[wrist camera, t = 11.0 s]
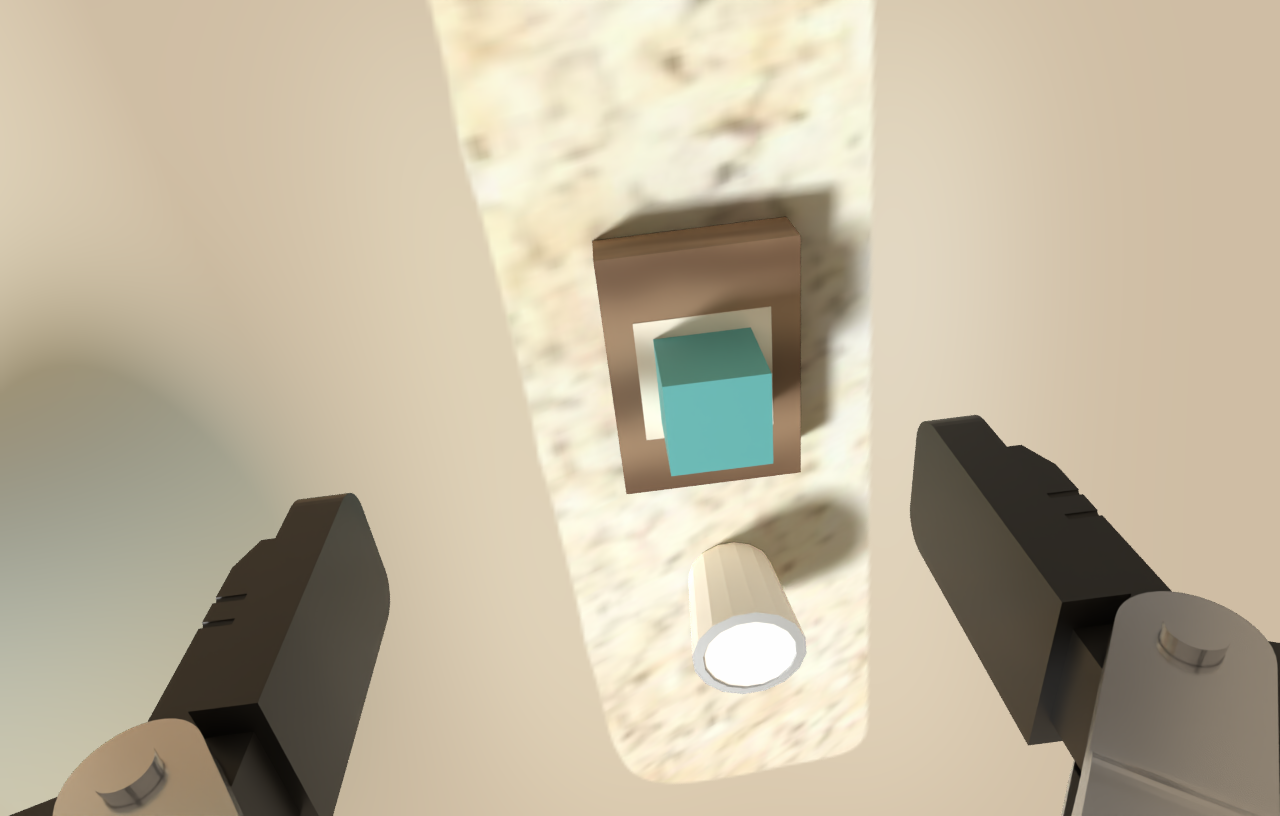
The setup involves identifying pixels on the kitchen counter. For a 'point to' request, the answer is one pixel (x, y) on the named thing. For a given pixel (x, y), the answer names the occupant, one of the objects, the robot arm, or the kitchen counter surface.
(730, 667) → the white tapered cup
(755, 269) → the walnut plinth
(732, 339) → the teal cube
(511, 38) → the kitchen counter surface
